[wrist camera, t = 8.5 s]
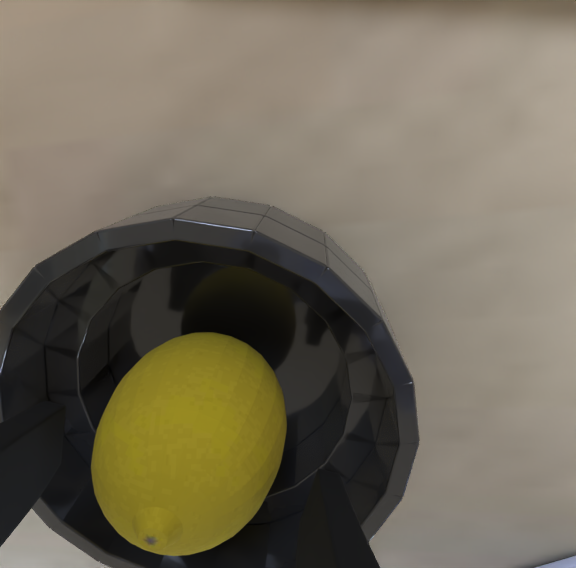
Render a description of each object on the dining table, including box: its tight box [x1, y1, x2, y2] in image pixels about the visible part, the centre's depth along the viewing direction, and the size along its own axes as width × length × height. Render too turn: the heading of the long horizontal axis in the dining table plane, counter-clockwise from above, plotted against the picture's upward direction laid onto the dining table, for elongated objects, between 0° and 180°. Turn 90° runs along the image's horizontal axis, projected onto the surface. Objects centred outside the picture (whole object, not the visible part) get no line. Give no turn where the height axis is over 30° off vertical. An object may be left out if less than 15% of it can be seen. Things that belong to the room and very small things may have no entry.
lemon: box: [91, 332, 287, 556], centre depth 13 cm, size 6×6×8 cm
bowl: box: [0, 197, 419, 568], centre depth 15 cm, size 13×13×5 cm
